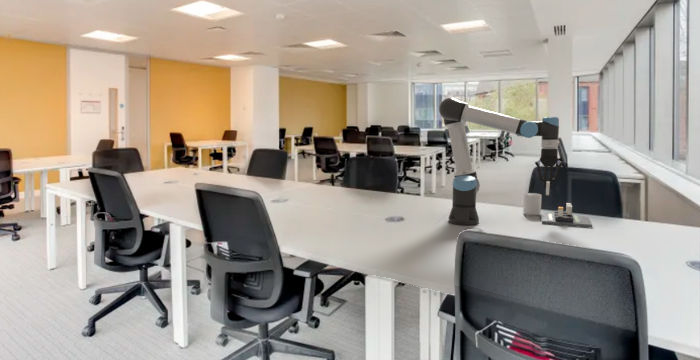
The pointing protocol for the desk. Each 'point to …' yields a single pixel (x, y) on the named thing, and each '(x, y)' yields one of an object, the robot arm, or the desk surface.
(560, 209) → the block
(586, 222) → the panel
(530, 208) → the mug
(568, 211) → the block
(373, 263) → the desk surface
